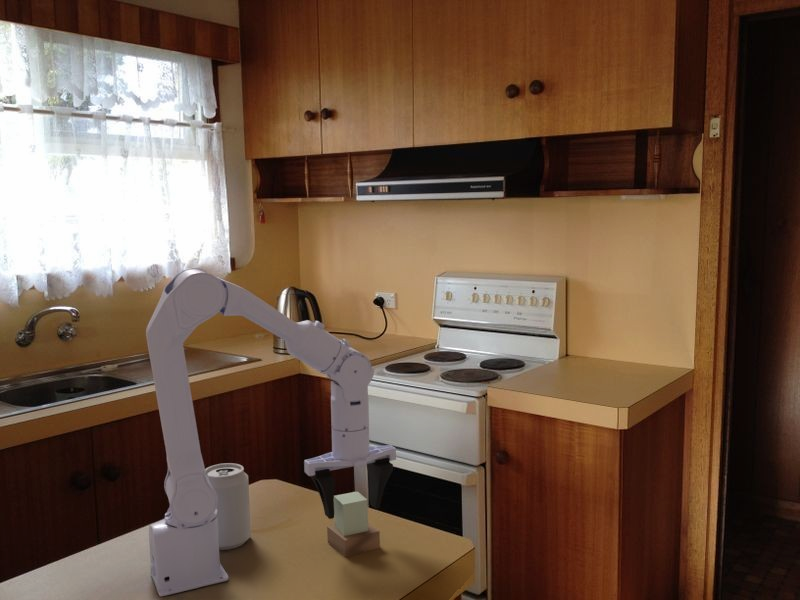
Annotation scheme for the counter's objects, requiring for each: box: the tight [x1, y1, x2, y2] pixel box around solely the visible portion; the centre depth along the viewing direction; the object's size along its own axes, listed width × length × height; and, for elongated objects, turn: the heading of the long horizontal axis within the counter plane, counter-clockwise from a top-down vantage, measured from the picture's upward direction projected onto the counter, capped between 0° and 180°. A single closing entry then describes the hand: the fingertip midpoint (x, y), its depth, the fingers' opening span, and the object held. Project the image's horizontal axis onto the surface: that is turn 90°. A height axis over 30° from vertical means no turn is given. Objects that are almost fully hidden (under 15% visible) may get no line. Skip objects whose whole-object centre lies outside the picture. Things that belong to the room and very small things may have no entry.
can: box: [205, 462, 252, 551], centre depth 118 cm, size 8×8×12 cm
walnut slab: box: [326, 522, 381, 558], centre depth 116 cm, size 6×6×3 cm
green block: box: [333, 491, 369, 536], centre depth 116 cm, size 4×4×5 cm
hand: (352, 511), depth 116 cm, fingers open, 7 cm apart
